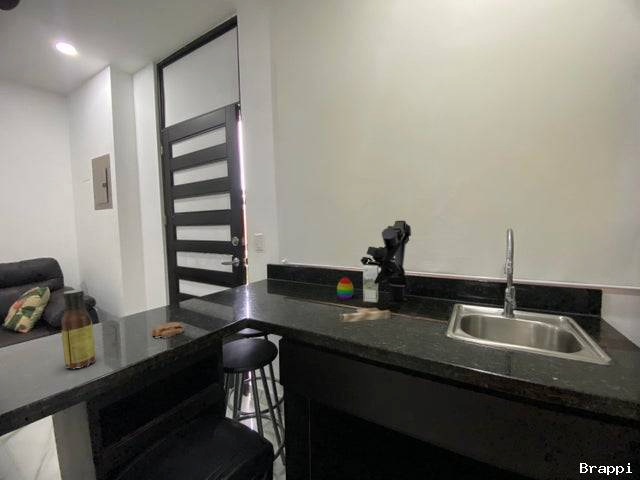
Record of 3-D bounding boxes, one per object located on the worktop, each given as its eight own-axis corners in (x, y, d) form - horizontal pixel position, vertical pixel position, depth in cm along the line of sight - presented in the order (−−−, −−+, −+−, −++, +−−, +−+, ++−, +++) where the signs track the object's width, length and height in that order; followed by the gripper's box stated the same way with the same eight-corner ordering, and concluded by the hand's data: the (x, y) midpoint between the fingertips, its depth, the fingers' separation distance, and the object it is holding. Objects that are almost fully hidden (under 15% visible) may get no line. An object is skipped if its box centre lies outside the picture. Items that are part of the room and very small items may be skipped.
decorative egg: (334, 296, 144) (334, 277, 143) (347, 294, 147) (347, 275, 147) (342, 300, 136) (342, 279, 136) (356, 298, 140) (356, 278, 140)
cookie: (185, 326, 105) (184, 318, 105) (183, 336, 95) (183, 327, 95) (154, 330, 101) (153, 322, 101) (149, 341, 91) (148, 332, 91)
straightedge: (341, 322, 106) (341, 315, 106) (339, 320, 108) (339, 314, 108) (390, 318, 111) (390, 311, 111) (387, 316, 113) (387, 309, 113)
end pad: (364, 317, 112) (364, 316, 112) (356, 310, 120) (356, 309, 120) (385, 315, 114) (385, 314, 114) (376, 309, 123) (376, 307, 123)
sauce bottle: (101, 358, 79) (97, 287, 78) (83, 370, 73) (78, 293, 72) (77, 359, 79) (72, 288, 78) (57, 371, 73) (51, 294, 72)
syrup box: (378, 299, 119) (378, 264, 118) (377, 303, 113) (377, 266, 112) (364, 298, 121) (364, 264, 120) (362, 302, 115) (362, 266, 114)
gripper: (363, 238, 125) (343, 265, 121) (394, 240, 109) (372, 272, 104) (377, 255, 130) (358, 281, 125) (409, 259, 114) (388, 290, 109)
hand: (368, 281), depth 116 cm, fingers closed on syrup box, 8 cm apart
